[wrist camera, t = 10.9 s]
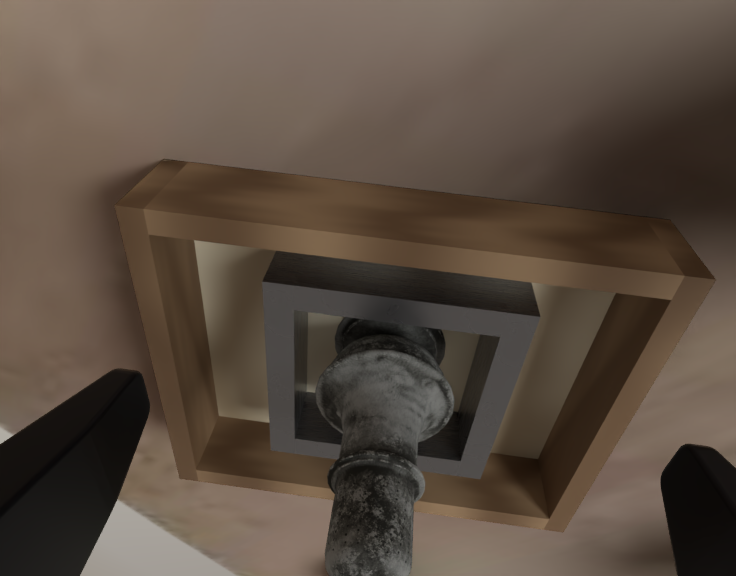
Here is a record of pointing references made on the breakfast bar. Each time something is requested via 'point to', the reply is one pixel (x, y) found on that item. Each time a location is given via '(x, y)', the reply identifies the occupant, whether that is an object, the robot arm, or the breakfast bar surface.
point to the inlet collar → (401, 306)
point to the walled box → (449, 254)
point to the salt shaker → (380, 439)
